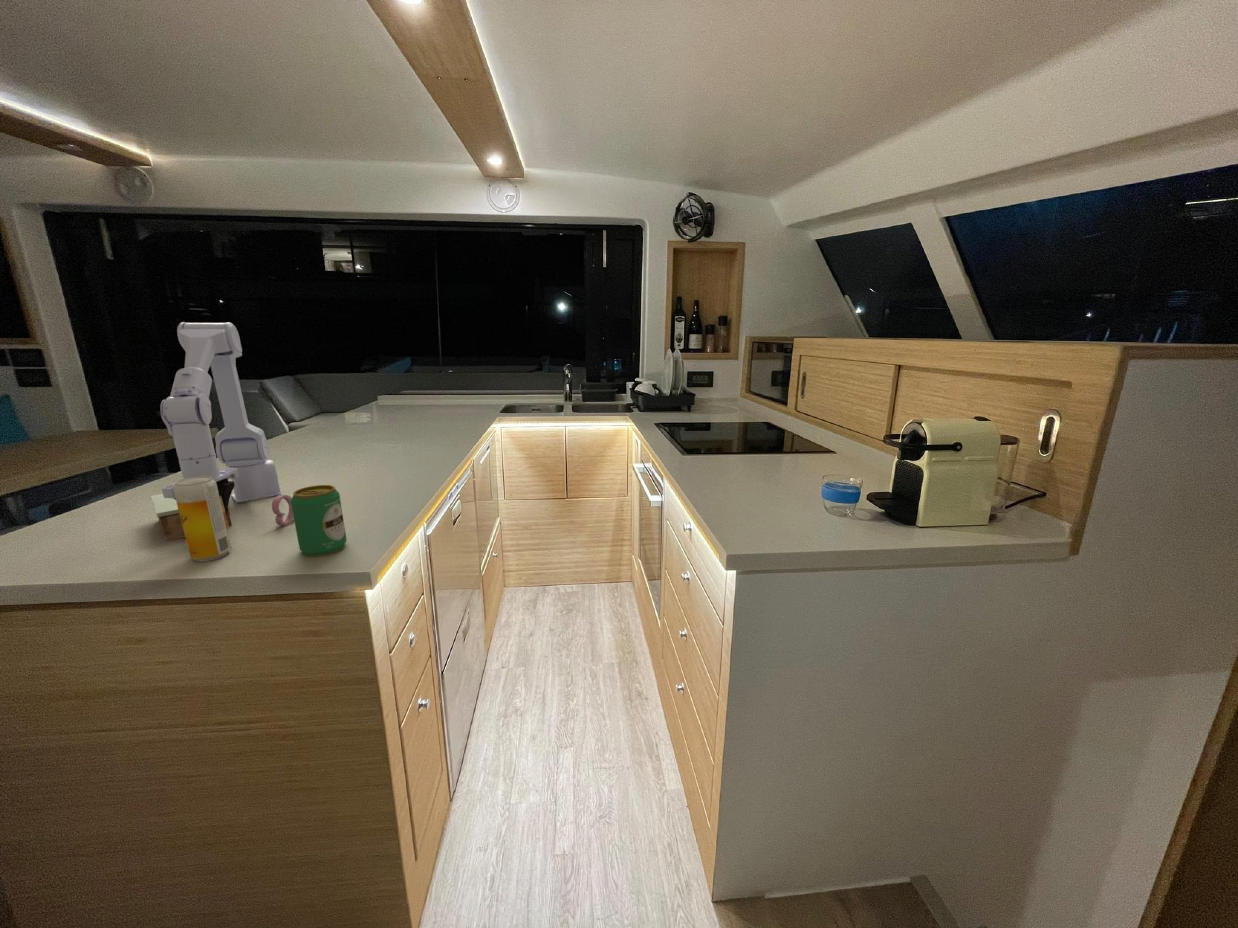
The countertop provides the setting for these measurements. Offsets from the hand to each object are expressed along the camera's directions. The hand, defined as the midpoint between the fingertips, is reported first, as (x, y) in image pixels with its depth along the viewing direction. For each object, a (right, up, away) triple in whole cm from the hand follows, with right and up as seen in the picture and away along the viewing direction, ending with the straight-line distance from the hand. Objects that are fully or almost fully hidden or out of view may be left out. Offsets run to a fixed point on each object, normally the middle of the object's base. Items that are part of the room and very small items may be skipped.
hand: (211, 520), depth 103 cm
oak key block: (0, -2, +1) cm, 2 cm away
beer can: (+6, -6, -8) cm, 12 cm away
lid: (-11, +3, +7) cm, 13 cm away
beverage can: (+26, -5, -5) cm, 27 cm away
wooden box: (-11, -1, +8) cm, 14 cm away
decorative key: (+11, 0, +15) cm, 18 cm away
